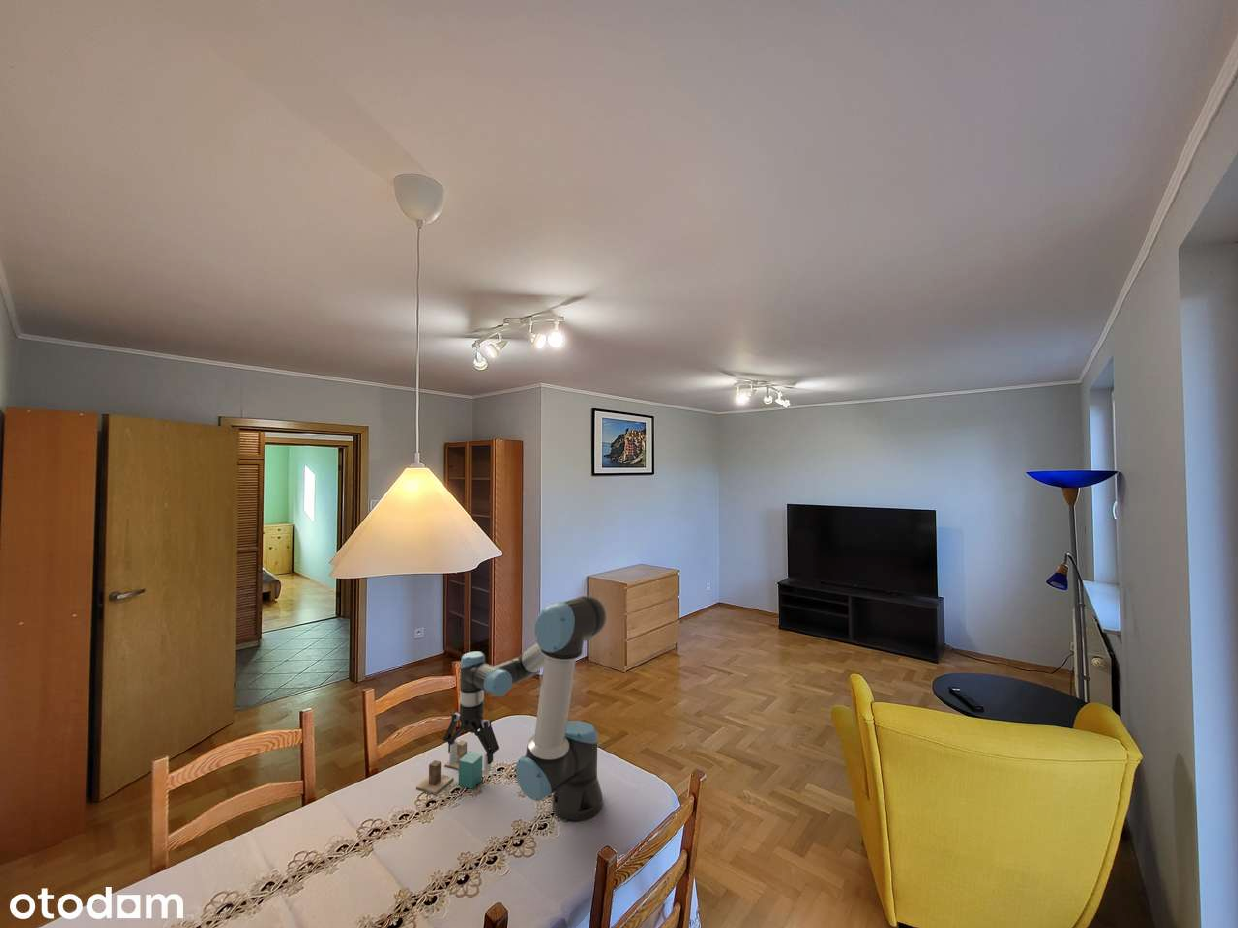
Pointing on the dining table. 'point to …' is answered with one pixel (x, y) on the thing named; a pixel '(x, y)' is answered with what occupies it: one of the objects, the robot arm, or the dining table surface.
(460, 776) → the teal rectangular block
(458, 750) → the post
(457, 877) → the dining table surface
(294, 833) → the dining table surface
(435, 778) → the post
